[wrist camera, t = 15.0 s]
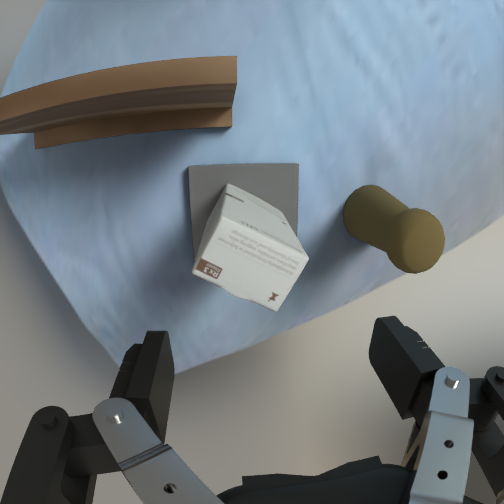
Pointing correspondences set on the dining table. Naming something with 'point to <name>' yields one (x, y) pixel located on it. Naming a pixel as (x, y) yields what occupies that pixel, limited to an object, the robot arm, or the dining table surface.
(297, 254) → the skincare box
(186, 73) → the walnut screen
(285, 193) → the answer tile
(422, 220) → the olive stepped cylinder
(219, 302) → the dining table surface
